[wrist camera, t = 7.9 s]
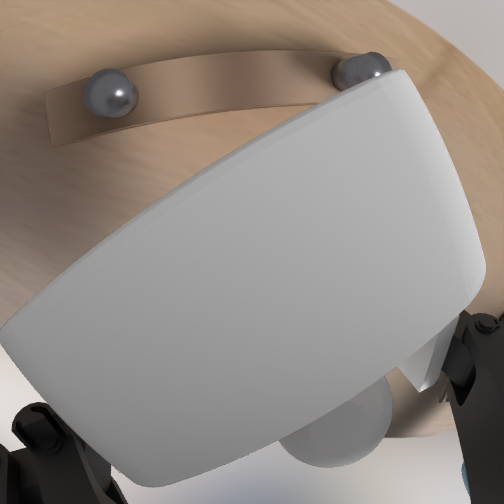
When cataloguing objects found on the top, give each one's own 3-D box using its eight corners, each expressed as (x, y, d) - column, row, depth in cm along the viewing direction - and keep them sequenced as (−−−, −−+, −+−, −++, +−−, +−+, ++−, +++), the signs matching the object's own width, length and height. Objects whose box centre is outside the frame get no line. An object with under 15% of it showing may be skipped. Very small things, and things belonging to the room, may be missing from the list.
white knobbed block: (252, 411, 15) (289, 582, 5) (125, 246, 13) (-30, 357, 3) (384, 328, 15) (518, 444, 5) (285, 143, 13) (437, 49, 3)
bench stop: (364, 65, 19) (430, 53, 12) (368, 104, 20) (435, 105, 14) (68, 98, 15) (18, 87, 9) (74, 142, 17) (27, 152, 10)
